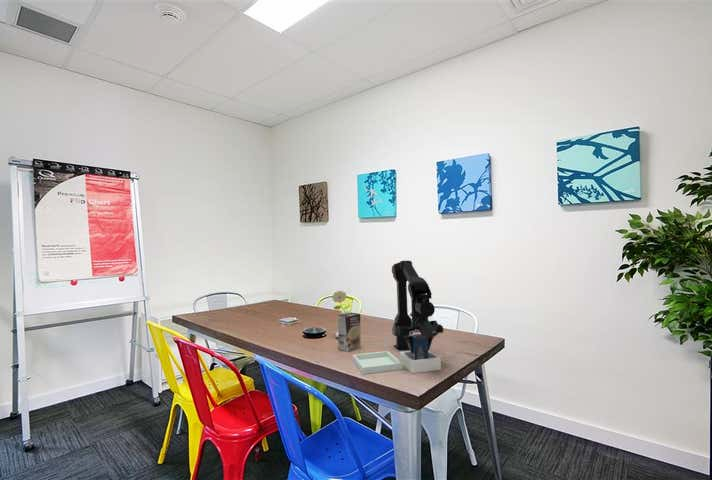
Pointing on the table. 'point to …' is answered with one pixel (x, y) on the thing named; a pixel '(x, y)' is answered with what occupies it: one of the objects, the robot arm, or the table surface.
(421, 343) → the soda can
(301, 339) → the table surface
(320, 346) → the table surface
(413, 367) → the pale square open box
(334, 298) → the flower in vase
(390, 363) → the tray
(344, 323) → the coffee box
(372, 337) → the table surface
